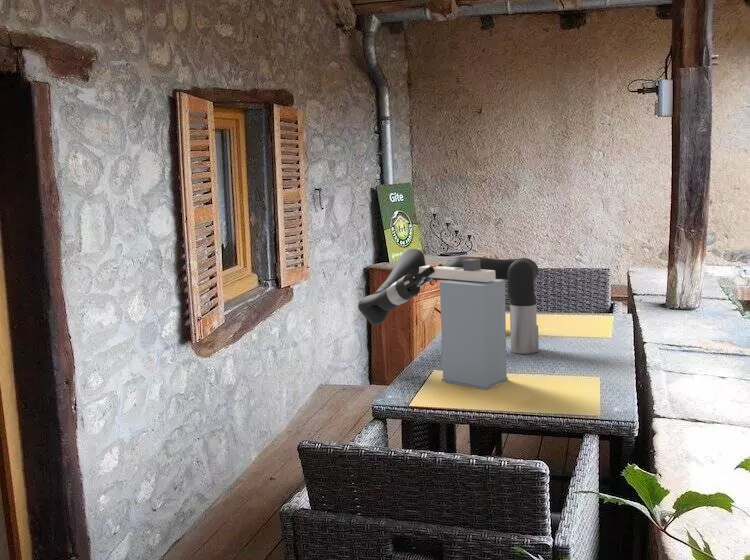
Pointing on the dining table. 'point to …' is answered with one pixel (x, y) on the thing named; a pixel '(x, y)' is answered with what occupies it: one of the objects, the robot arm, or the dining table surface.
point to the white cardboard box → (462, 272)
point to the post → (473, 332)
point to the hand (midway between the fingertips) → (437, 267)
